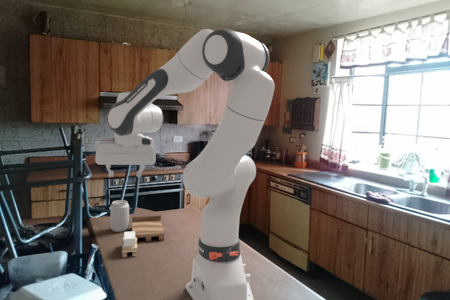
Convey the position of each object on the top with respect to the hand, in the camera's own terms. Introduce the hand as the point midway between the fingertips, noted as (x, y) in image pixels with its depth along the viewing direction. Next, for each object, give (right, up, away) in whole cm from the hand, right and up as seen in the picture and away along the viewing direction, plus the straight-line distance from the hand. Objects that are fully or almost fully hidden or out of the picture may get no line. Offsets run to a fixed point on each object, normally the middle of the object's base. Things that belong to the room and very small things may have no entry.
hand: (125, 176), depth 117 cm
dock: (+4, -25, +18) cm, 31 cm away
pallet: (+1, -27, +2) cm, 27 cm away
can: (-9, -24, +22) cm, 34 cm away
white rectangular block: (+1, -24, +2) cm, 24 cm away
